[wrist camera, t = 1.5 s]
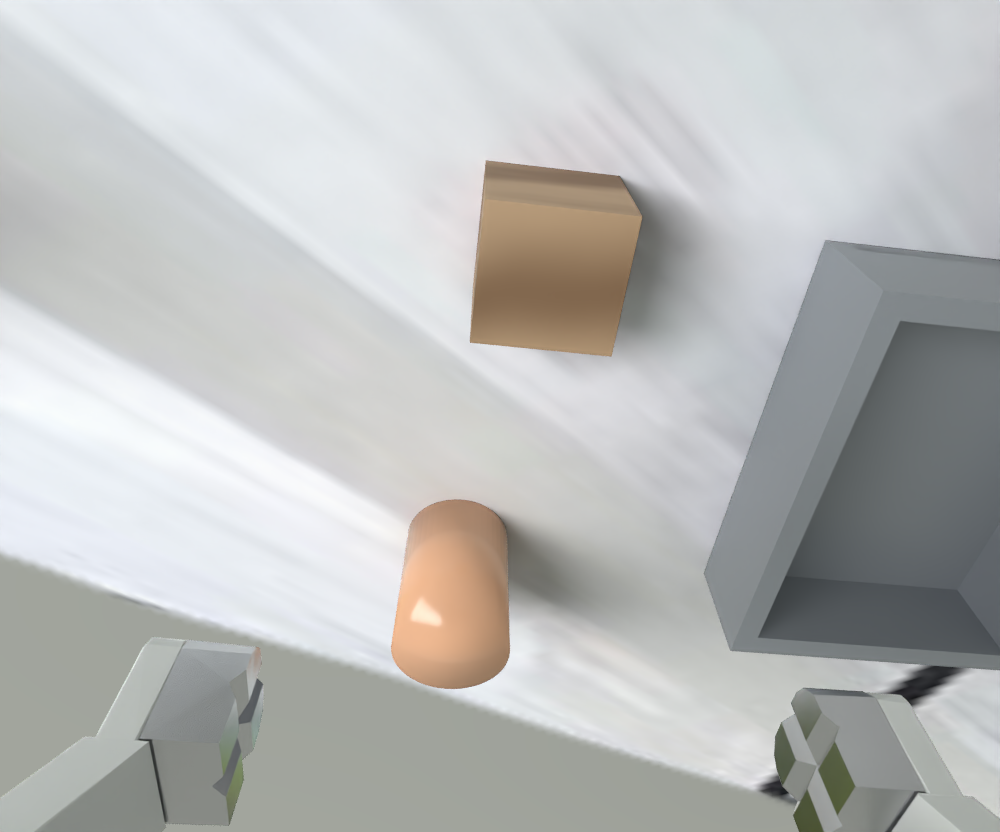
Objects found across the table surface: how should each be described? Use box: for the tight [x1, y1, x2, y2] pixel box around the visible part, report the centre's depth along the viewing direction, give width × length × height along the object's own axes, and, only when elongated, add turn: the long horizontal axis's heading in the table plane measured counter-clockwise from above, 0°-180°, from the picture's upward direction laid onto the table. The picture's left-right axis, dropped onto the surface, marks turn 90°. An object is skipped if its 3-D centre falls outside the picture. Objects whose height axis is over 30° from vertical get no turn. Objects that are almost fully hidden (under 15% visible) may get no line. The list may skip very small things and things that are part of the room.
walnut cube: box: [470, 161, 642, 356], centre depth 26 cm, size 5×5×5 cm
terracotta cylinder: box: [391, 500, 510, 689], centre depth 34 cm, size 5×5×7 cm
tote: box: [704, 240, 1000, 670], centre depth 32 cm, size 18×14×5 cm
